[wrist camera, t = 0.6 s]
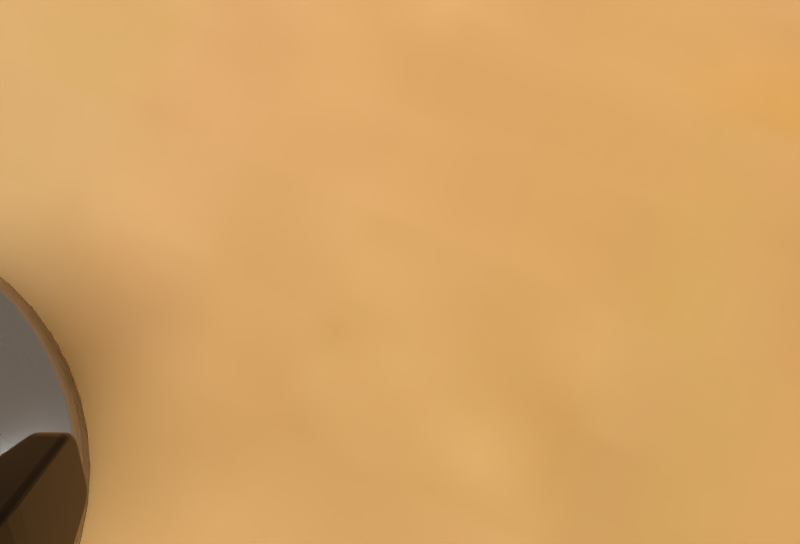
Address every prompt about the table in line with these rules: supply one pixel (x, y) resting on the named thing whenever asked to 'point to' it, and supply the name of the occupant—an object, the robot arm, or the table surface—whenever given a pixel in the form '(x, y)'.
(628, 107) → the table surface
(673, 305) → the table surface
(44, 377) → the grey peg hole base
